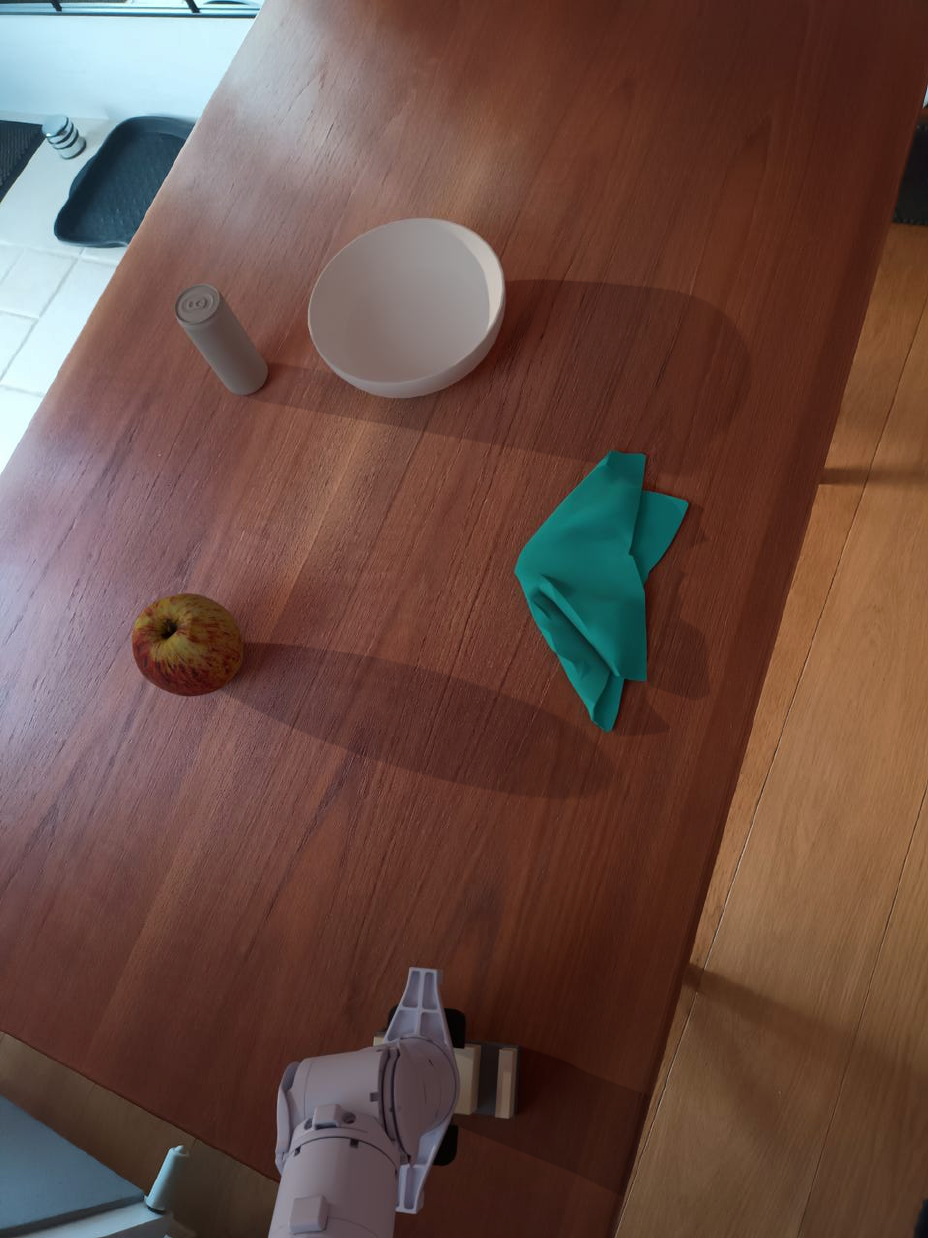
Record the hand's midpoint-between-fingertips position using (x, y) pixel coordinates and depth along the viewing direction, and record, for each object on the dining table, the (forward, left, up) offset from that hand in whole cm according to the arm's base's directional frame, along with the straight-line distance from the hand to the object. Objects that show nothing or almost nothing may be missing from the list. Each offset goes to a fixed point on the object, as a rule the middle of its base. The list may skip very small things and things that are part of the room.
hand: (442, 1073), depth 71 cm
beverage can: (+63, +27, -2) cm, 69 cm away
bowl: (+67, +9, -2) cm, 68 cm away
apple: (+32, +25, -2) cm, 41 cm away
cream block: (0, 0, -1) cm, 1 cm away
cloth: (+40, -10, -2) cm, 42 cm away
